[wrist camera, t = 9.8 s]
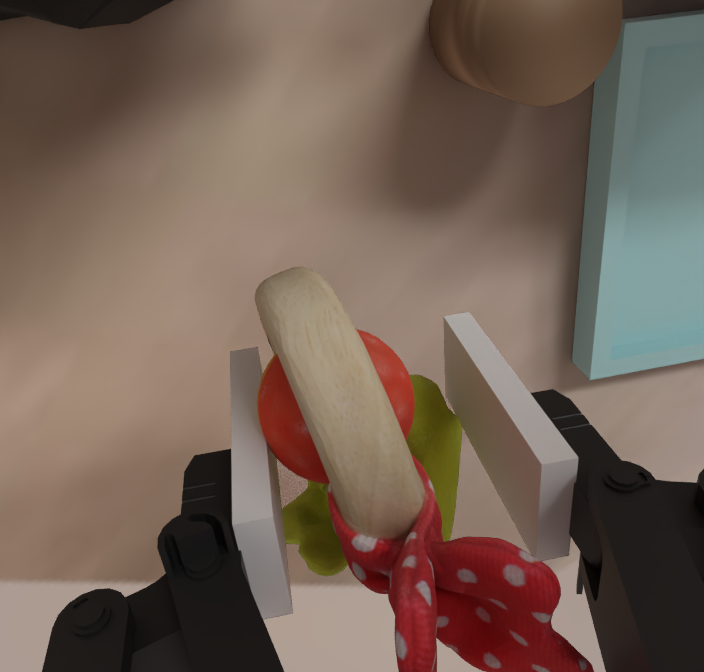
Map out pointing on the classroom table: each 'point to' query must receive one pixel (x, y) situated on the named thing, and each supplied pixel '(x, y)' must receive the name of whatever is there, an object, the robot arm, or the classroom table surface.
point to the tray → (644, 203)
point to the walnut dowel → (526, 45)
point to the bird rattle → (392, 490)
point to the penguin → (80, 11)
